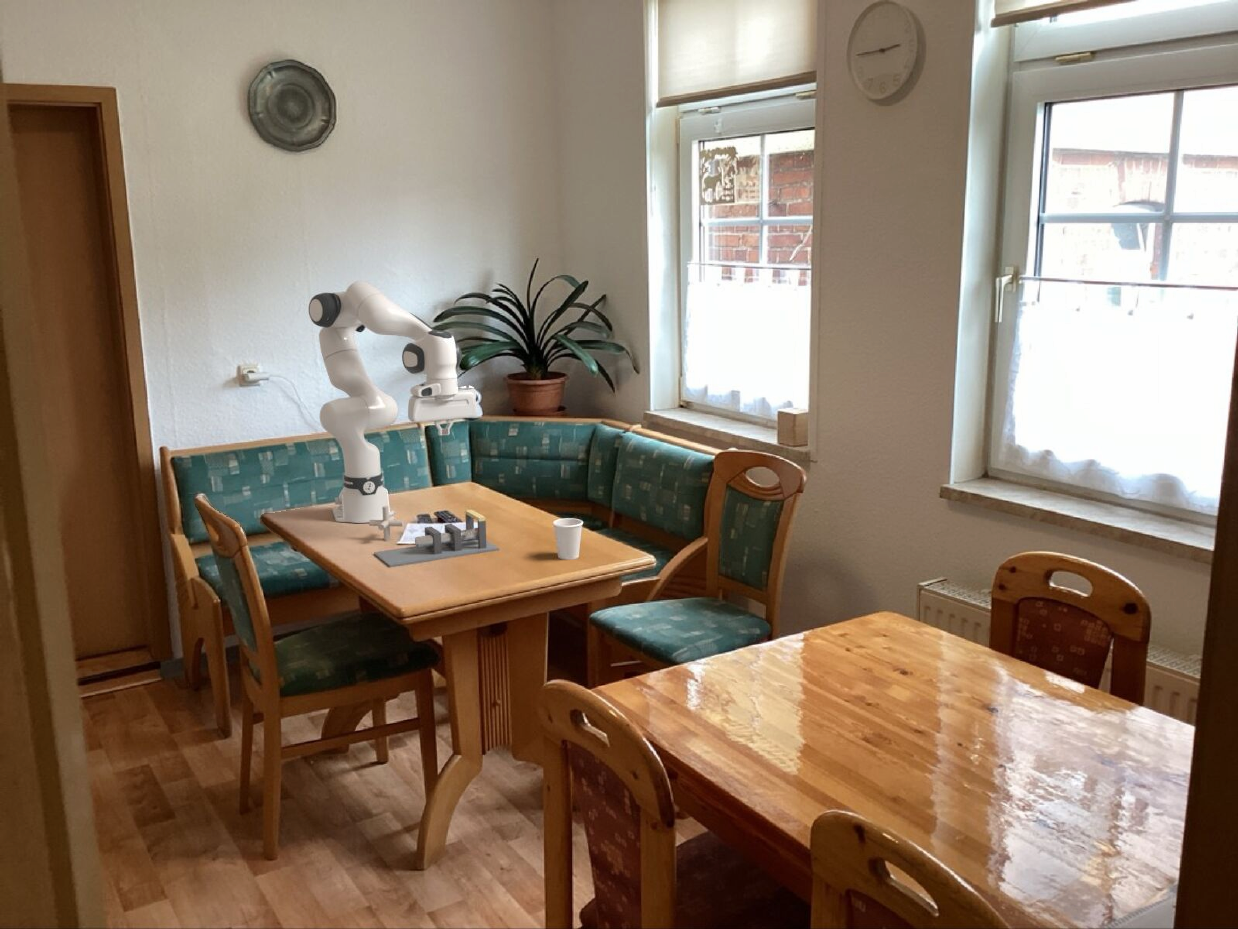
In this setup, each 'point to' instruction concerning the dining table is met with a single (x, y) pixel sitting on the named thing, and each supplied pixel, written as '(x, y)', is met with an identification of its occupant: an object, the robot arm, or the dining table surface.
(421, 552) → the collar board
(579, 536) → the dixie cup
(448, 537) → the tube
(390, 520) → the pipe connector
